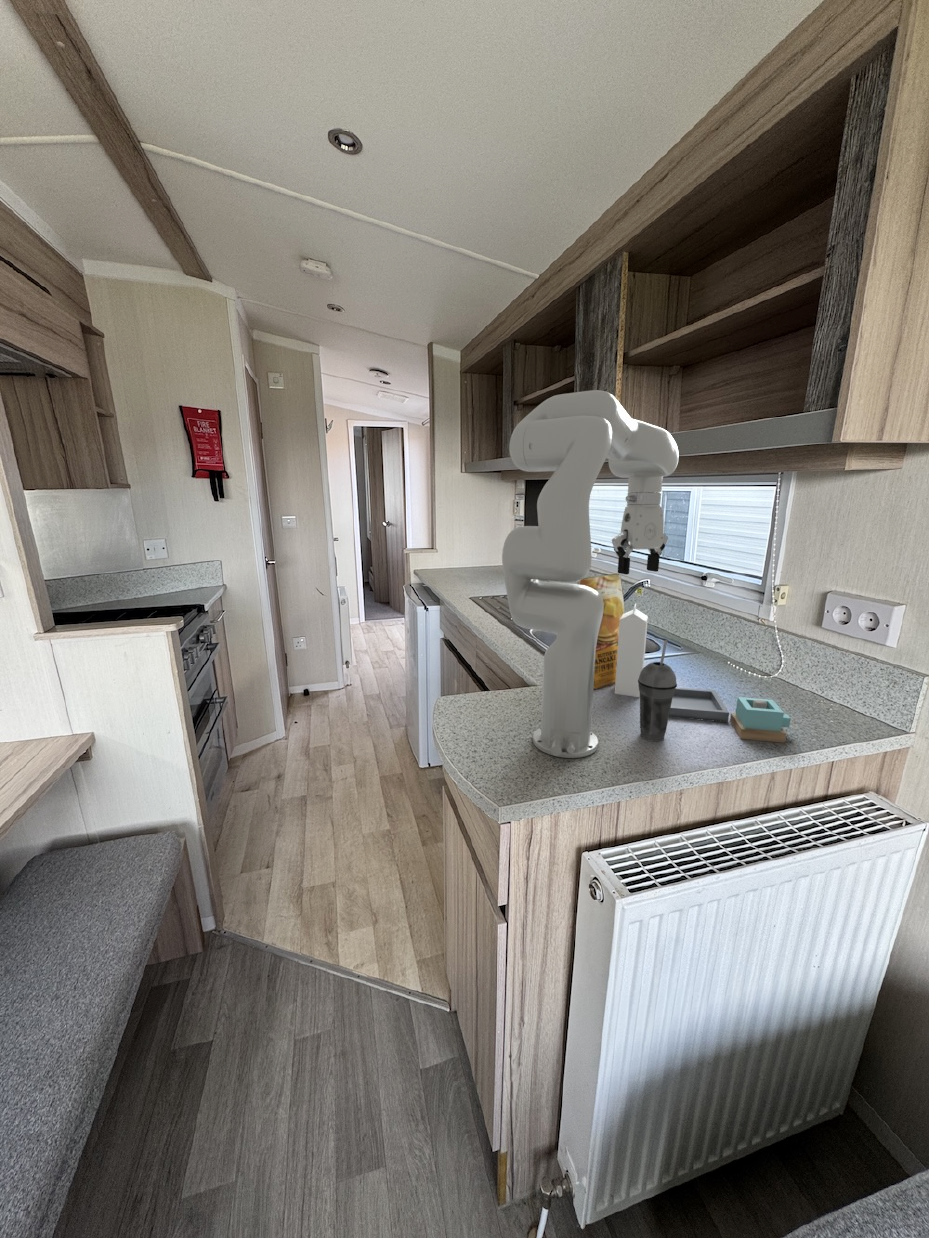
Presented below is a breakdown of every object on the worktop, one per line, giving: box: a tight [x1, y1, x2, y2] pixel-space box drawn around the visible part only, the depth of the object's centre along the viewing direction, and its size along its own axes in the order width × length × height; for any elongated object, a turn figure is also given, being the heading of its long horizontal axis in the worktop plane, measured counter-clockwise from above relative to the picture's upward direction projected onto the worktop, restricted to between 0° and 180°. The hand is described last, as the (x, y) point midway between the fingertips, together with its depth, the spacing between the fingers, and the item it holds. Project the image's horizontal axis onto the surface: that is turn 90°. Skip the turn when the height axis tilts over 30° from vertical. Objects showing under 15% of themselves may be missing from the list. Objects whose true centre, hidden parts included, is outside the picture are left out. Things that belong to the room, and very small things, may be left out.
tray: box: [669, 687, 730, 723], centre depth 116 cm, size 13×13×2 cm
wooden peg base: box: [729, 700, 787, 744], centre depth 103 cm, size 8×8×6 cm
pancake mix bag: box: [577, 573, 626, 690], centre depth 129 cm, size 7×19×28 cm, turn 124°
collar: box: [735, 696, 791, 731], centre depth 103 cm, size 7×9×4 cm
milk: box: [614, 603, 649, 698], centre depth 123 cm, size 6×6×22 cm
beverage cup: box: [638, 640, 678, 742], centre depth 100 cm, size 7×7×20 cm
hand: (638, 572), depth 124 cm, fingers open, 9 cm apart
